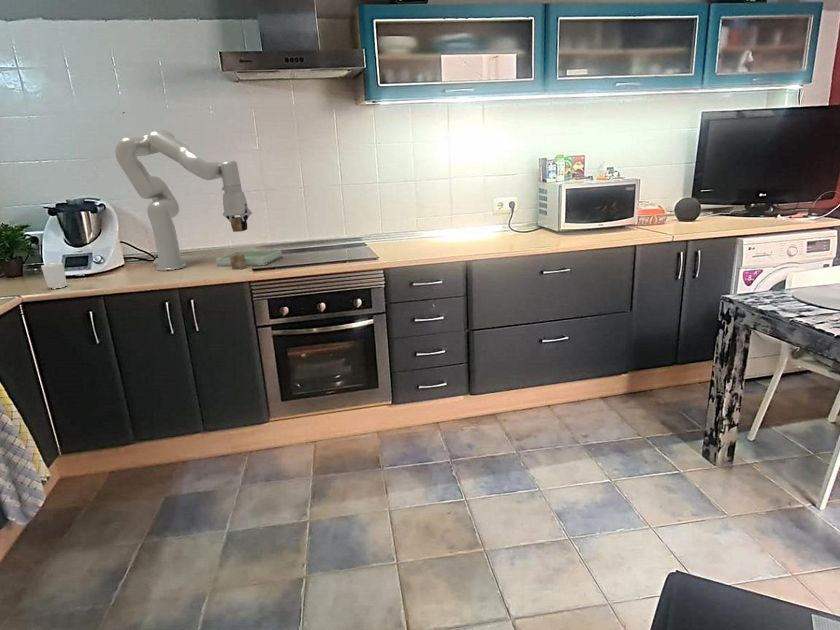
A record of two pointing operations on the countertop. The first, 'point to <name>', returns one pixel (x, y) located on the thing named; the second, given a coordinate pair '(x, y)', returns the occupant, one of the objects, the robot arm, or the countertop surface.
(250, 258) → the tray
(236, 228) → the walnut block
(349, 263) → the countertop surface
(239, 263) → the oak block
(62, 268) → the white cup
